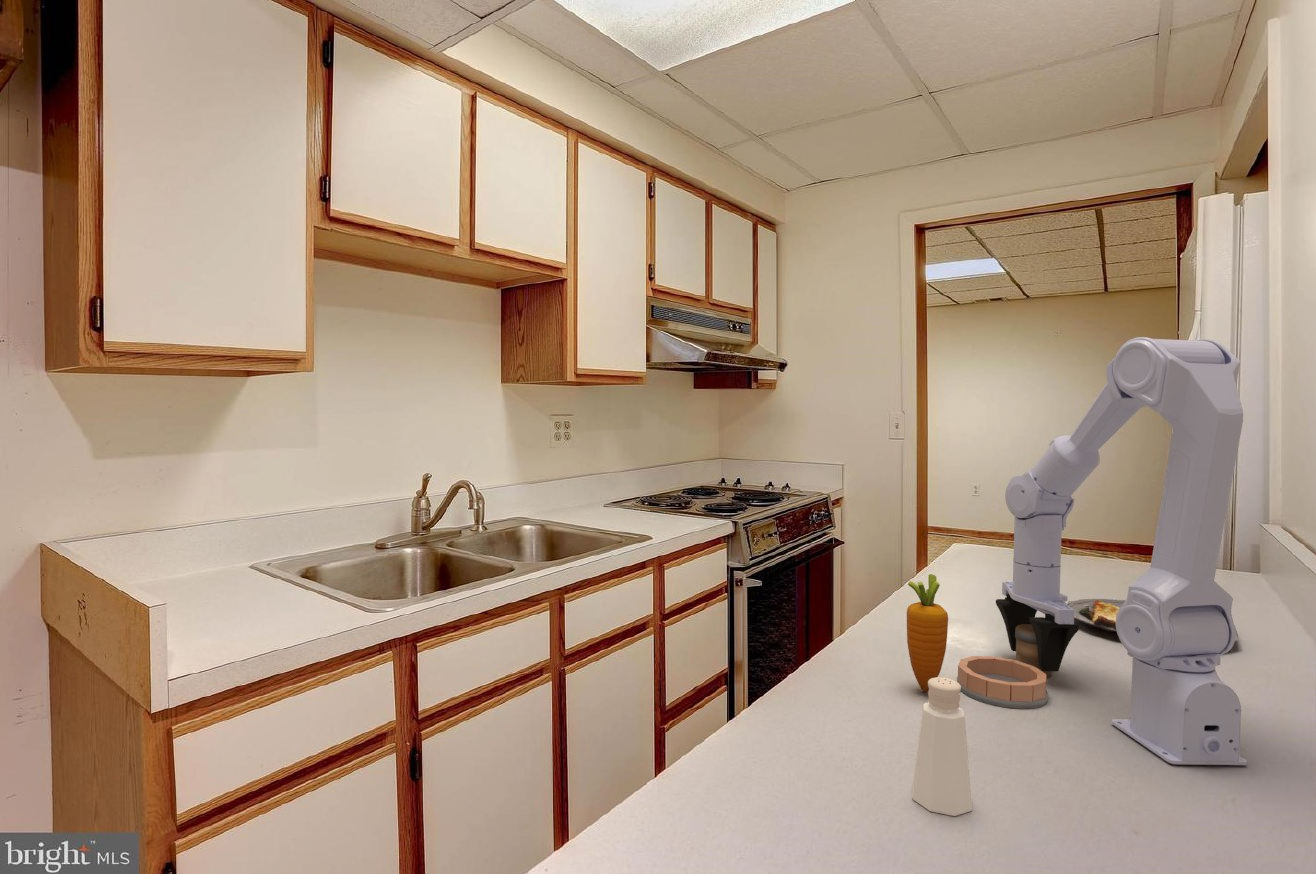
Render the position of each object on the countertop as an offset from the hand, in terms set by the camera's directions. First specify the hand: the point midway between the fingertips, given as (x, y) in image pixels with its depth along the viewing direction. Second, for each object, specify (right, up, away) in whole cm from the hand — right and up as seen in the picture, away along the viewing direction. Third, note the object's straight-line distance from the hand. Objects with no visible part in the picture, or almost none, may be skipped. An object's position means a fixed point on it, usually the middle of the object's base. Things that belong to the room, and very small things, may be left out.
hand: (1033, 660), depth 95 cm
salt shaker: (-26, -3, -32) cm, 41 cm away
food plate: (+30, -2, +20) cm, 36 cm away
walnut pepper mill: (0, -2, 0) cm, 2 cm away
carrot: (-18, -2, -7) cm, 20 cm away
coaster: (-8, -2, -7) cm, 11 cm away
